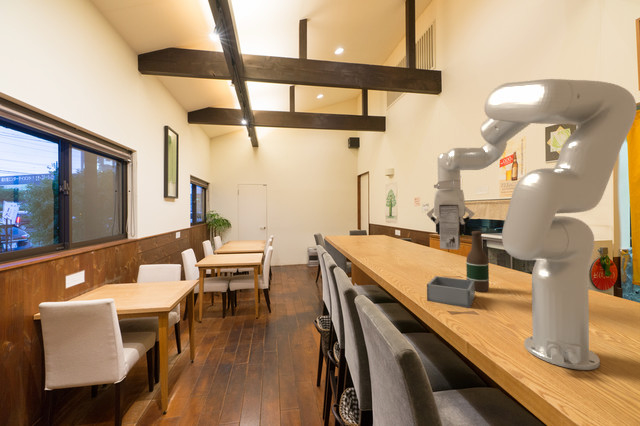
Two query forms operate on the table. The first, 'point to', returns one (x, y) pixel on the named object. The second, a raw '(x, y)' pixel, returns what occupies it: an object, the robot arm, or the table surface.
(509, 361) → the table surface
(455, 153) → the robot arm
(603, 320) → the table surface
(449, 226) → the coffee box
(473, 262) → the beer bottle
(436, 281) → the bin
